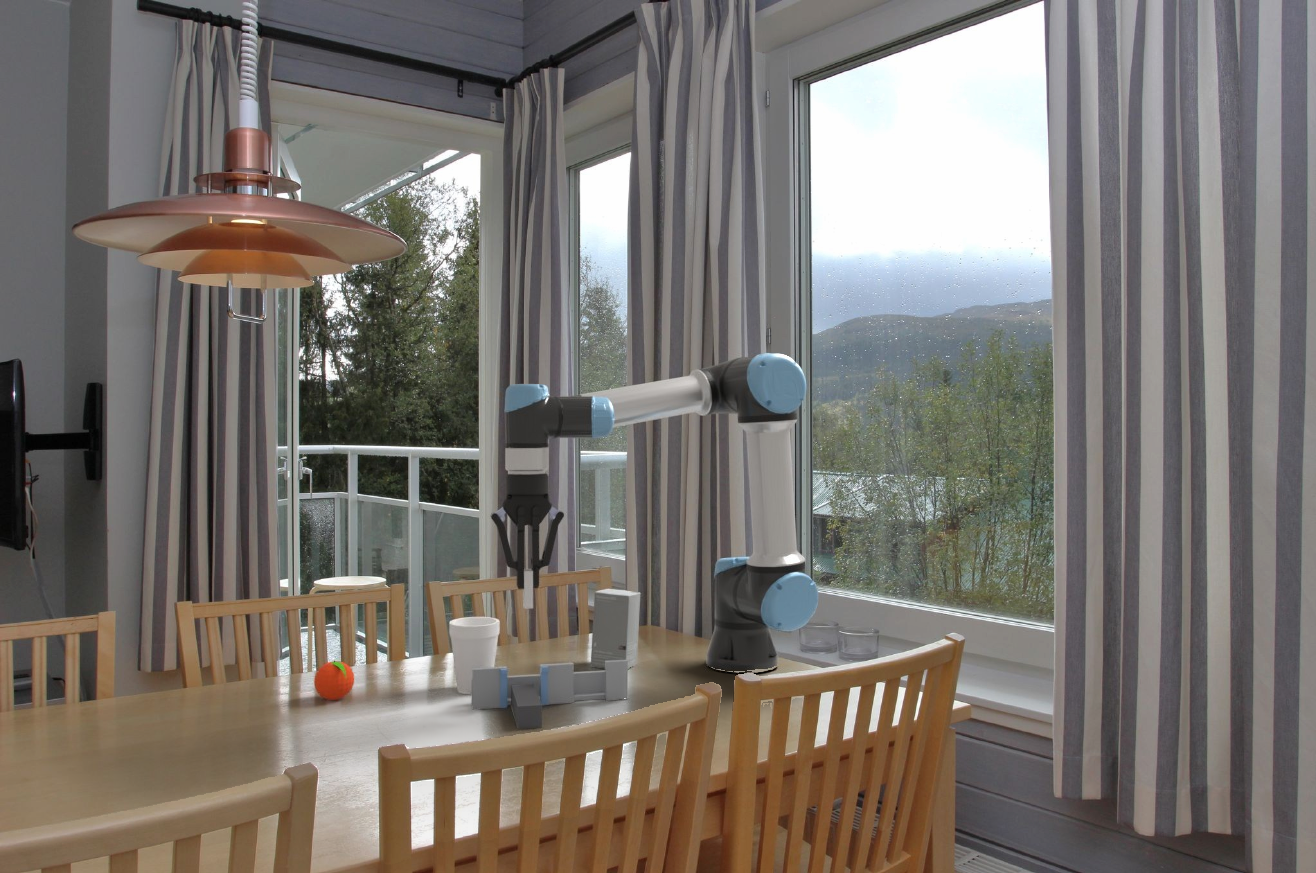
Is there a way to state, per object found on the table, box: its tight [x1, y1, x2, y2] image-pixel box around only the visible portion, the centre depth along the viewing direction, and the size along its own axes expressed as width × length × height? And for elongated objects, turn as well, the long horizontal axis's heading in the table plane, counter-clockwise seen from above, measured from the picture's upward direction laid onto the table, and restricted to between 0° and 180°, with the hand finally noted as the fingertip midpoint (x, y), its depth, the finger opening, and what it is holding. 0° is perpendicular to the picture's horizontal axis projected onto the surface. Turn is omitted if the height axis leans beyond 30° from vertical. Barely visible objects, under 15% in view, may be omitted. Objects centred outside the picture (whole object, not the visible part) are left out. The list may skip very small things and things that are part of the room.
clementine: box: [313, 659, 355, 701], centre depth 172 cm, size 8×7×7 cm
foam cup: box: [448, 616, 501, 695], centre depth 179 cm, size 10×9×13 cm
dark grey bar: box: [510, 684, 543, 730], centre depth 162 cm, size 4×14×4 cm, turn 13°
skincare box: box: [590, 588, 642, 670], centre depth 198 cm, size 8×7×16 cm
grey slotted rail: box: [470, 660, 629, 710], centre depth 171 cm, size 28×5×7 cm, turn 104°
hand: (528, 606), depth 164 cm, fingers closed
